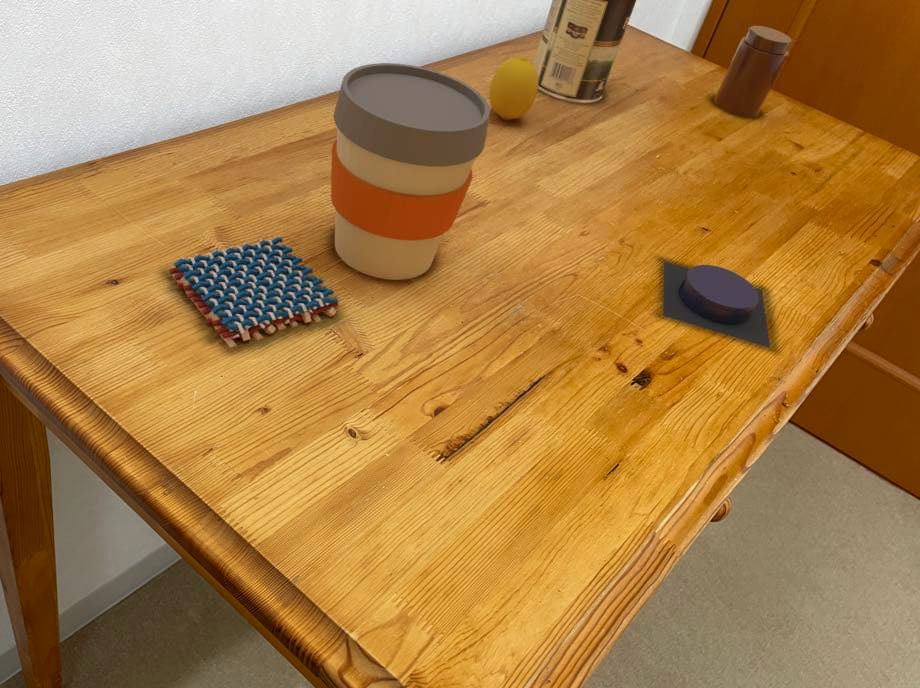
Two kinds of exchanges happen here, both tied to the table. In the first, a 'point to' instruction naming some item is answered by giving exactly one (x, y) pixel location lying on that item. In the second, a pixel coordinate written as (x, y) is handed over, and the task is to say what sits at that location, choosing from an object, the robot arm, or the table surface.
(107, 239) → the table surface
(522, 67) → the lemon
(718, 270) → the lid
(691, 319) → the coaster
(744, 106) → the jar
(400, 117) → the reusable coffee cup
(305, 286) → the woven mat
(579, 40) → the coffee can
